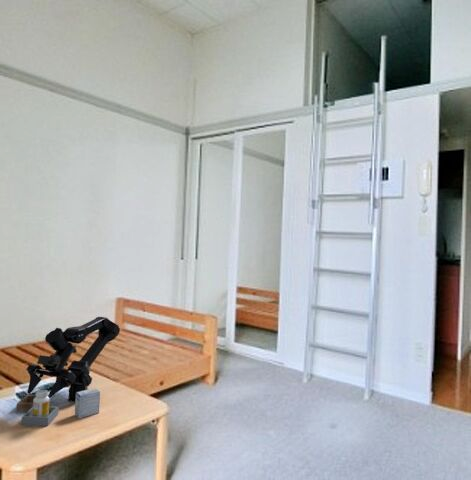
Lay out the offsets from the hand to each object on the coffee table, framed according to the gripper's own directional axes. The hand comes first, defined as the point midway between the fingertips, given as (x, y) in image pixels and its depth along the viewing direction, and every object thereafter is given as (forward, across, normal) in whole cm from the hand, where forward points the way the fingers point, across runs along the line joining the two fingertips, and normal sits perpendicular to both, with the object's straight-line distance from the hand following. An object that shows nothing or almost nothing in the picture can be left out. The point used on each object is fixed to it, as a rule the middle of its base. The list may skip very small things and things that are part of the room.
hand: (38, 395), depth 148 cm
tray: (+6, 0, +8) cm, 10 cm away
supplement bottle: (+5, 0, +8) cm, 9 cm away
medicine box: (-2, +12, +15) cm, 20 cm away
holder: (0, -11, +13) cm, 17 cm away
